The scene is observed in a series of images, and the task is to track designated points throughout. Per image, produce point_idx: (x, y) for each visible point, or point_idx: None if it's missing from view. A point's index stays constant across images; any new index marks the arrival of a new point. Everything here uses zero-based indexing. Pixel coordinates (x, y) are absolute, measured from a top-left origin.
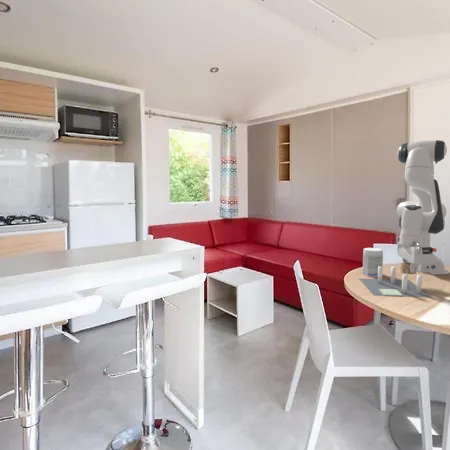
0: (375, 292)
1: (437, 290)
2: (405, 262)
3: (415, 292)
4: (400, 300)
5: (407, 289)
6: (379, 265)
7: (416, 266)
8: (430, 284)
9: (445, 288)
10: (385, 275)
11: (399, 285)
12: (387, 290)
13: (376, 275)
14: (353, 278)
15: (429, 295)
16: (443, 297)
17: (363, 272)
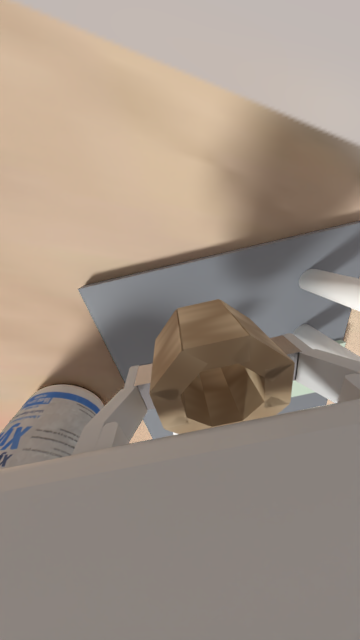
0: (299, 402)
1: (188, 142)
2: (134, 412)
3: (296, 289)
4: (344, 340)
5: (255, 315)
6: (65, 451)
7: (248, 329)
8: (57, 156)
9: (114, 43)
10: (15, 369)
11: None
12: (294, 380)
13: (97, 408)
14: (132, 442)
15: (341, 233)
16: (320, 144)
17: None
